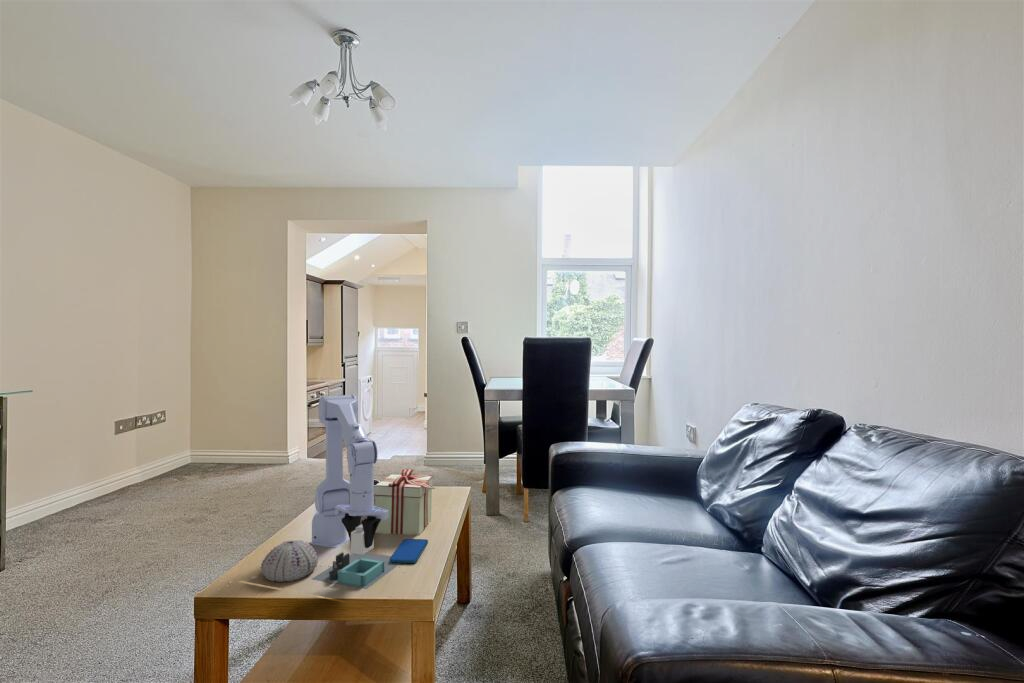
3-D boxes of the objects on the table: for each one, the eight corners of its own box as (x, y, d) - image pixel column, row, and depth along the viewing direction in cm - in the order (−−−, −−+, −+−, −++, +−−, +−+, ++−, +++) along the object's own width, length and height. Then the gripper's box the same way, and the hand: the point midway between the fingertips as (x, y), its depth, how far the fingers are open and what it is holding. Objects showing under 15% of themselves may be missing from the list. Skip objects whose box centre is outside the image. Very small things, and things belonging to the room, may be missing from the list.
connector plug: (350, 552, 122) (350, 528, 122) (362, 546, 127) (362, 522, 127) (362, 554, 121) (362, 529, 121) (373, 547, 125) (373, 523, 126)
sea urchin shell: (326, 562, 133) (326, 532, 133) (305, 586, 120) (305, 553, 120) (276, 562, 133) (277, 532, 133) (250, 586, 120) (250, 553, 120)
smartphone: (388, 559, 131) (404, 538, 146) (388, 563, 131) (404, 542, 146) (416, 560, 131) (428, 539, 146) (416, 564, 131) (428, 542, 146)
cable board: (311, 580, 122) (311, 565, 122) (356, 552, 139) (356, 539, 139) (366, 590, 117) (366, 575, 117) (406, 560, 134) (406, 546, 134)
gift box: (432, 536, 151) (432, 479, 152) (372, 536, 152) (372, 479, 152) (441, 517, 168) (441, 466, 169) (387, 517, 169) (387, 466, 169)
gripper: (327, 492, 122) (326, 547, 122) (377, 497, 118) (377, 555, 118) (345, 484, 129) (345, 537, 129) (393, 489, 124) (393, 544, 124)
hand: (361, 545), depth 124 cm, fingers closed on connector plug, 3 cm apart
